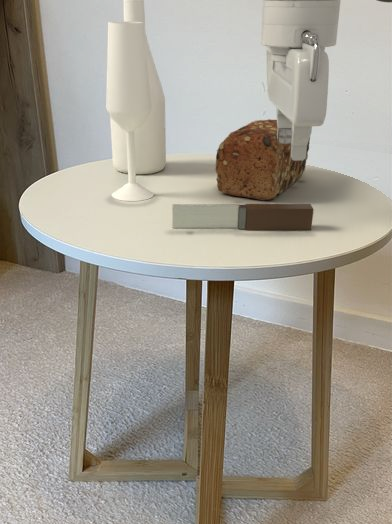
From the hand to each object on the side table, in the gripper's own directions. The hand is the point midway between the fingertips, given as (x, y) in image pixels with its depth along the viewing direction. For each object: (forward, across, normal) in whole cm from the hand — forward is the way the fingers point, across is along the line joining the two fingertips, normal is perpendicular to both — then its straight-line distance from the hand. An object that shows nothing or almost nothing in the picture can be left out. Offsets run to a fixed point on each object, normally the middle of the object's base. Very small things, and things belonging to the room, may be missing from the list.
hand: (290, 150), depth 77 cm
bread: (+10, +21, 0) cm, 24 cm away
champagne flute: (+10, +16, +22) cm, 28 cm away
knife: (+10, 0, +6) cm, 12 cm away
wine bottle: (+10, +31, +21) cm, 39 cm away
